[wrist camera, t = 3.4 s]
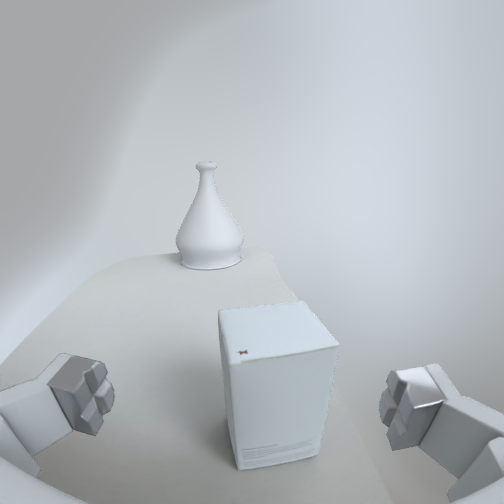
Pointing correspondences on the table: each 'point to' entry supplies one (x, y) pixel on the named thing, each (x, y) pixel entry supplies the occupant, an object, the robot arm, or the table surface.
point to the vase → (209, 228)
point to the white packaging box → (275, 381)
